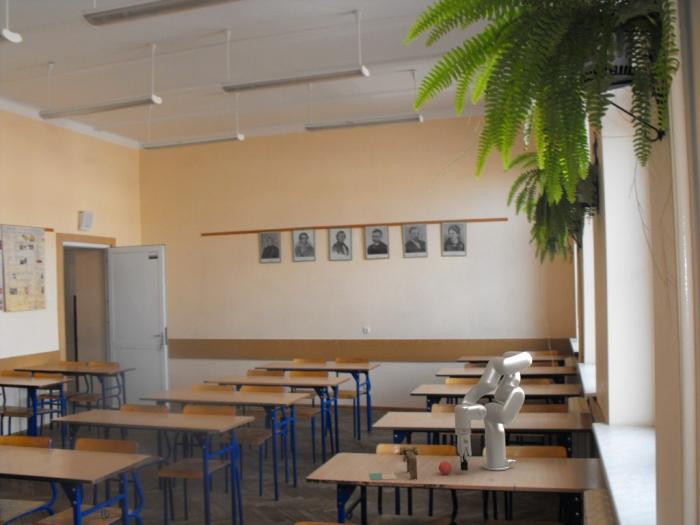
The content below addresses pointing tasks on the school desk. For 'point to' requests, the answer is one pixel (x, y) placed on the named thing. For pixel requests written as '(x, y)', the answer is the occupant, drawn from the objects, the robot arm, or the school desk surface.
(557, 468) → the school desk surface
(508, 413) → the robot arm
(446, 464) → the ball
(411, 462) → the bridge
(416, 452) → the gavel
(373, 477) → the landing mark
